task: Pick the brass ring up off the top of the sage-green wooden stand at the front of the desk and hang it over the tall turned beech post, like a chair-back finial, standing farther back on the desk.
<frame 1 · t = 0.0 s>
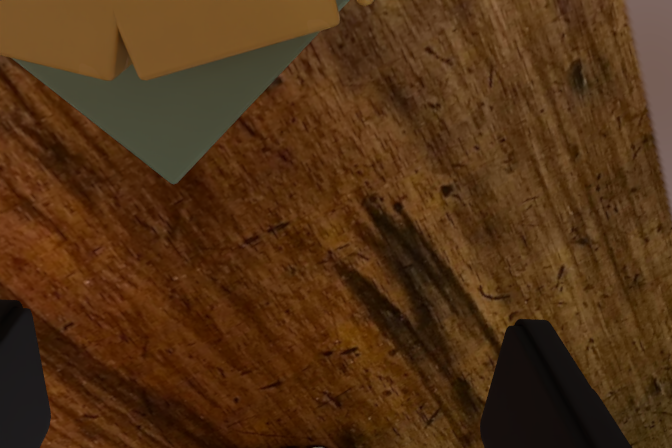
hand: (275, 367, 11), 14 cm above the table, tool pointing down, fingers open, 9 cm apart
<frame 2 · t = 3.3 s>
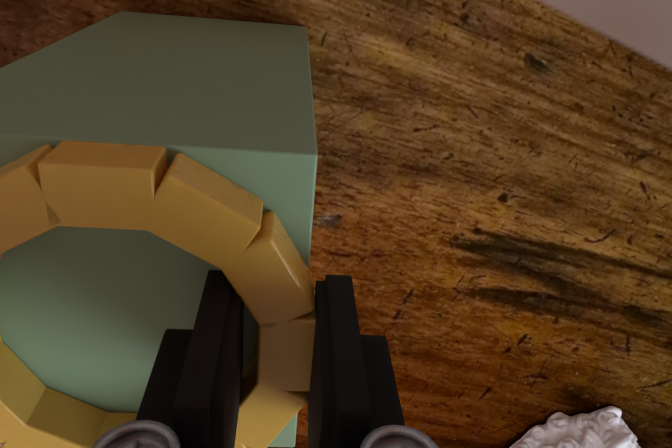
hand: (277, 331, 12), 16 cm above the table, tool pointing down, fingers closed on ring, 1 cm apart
stand: (215, 108, 27), on the table
ring: (131, 316, 12), point 16 cm above the table, touching gripper, stand
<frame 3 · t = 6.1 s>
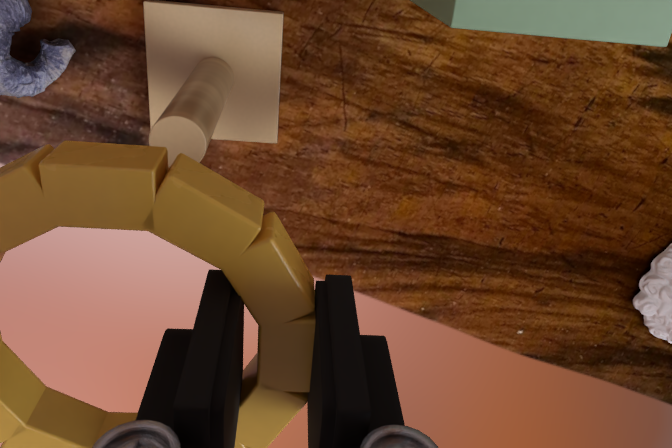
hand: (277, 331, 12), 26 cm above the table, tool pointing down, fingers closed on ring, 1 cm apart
post: (216, 73, 36), on the table
seashell: (1, 5, 33), on the table
ring: (131, 316, 12), point 26 cm above the table, touching gripper
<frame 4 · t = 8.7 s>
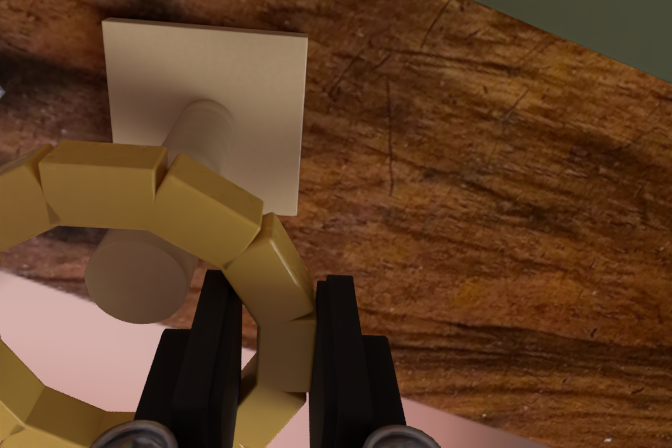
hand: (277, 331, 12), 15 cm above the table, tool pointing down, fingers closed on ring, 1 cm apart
post: (210, 120, 25), on the table
ring: (130, 316, 12), point 14 cm above the table, touching gripper
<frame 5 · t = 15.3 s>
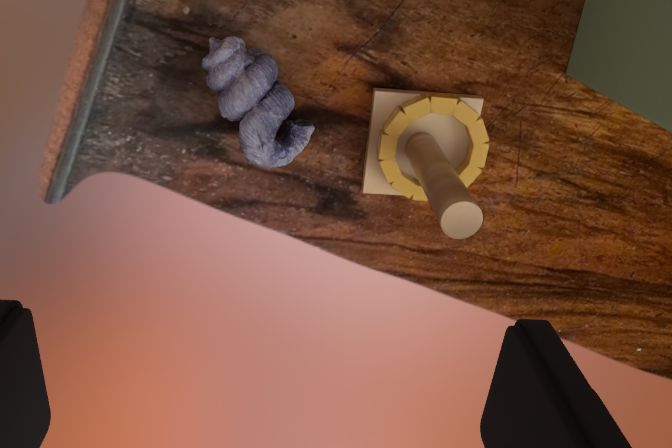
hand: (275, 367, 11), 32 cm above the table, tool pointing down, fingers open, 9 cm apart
stand: (634, 21, 40), on the table
post: (418, 143, 44), on the table
seashell: (256, 92, 41), on the table
ring: (430, 146, 43), point 1 cm above the table, touching post
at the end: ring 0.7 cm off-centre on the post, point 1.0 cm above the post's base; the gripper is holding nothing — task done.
